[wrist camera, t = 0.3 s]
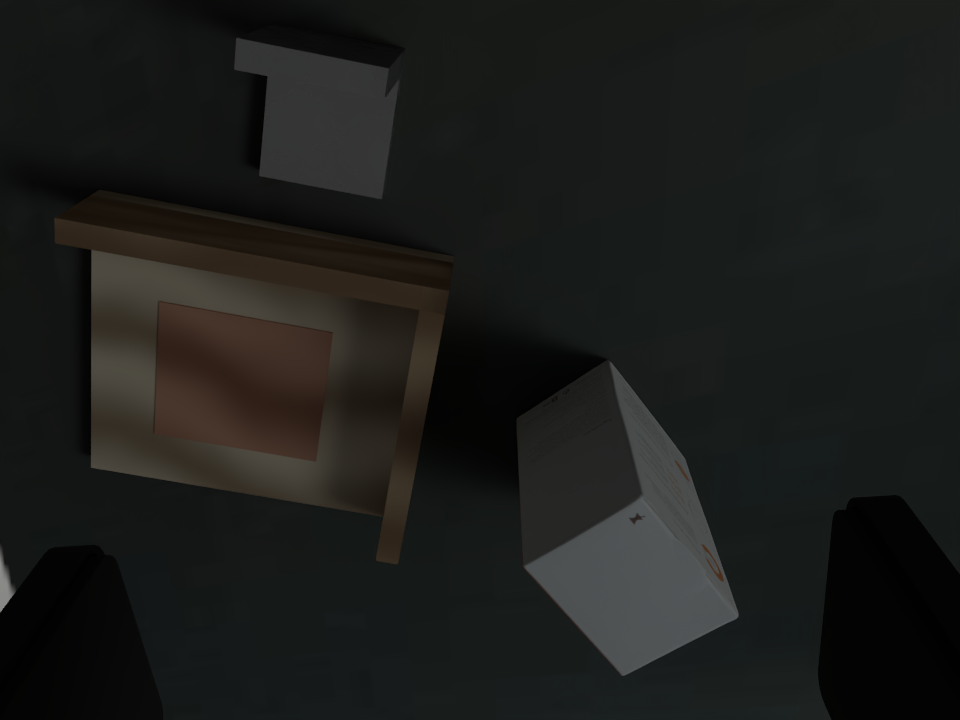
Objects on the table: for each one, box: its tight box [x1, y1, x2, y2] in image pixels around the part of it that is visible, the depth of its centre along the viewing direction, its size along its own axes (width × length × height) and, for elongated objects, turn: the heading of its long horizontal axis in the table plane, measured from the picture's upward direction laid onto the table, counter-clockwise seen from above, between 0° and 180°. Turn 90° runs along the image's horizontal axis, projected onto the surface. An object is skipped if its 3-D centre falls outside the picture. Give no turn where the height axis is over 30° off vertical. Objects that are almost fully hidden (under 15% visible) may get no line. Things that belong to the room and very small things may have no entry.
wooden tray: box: [55, 190, 454, 564], centre depth 46 cm, size 16×18×5 cm
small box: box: [516, 360, 738, 676], centre depth 44 cm, size 8×6×13 cm
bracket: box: [234, 23, 405, 199], centre depth 39 cm, size 7×6×7 cm
